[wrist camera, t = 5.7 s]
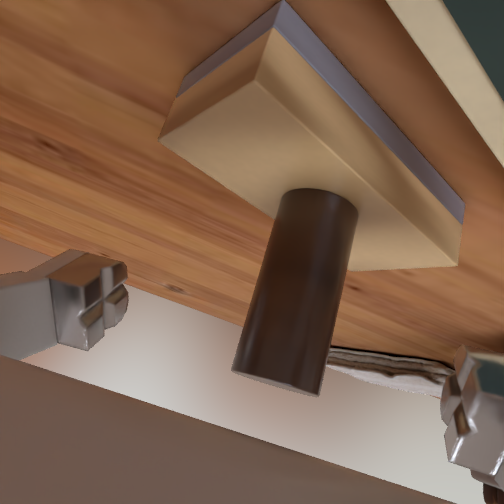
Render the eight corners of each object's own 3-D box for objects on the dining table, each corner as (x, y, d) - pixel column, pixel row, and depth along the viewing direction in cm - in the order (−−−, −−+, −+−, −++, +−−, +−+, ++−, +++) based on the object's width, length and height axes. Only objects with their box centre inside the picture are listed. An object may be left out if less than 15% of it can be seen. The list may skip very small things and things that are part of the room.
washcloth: (486, 385, 51) (484, 411, 50) (362, 365, 65) (358, 385, 64) (445, 359, 44) (442, 388, 43) (316, 343, 58) (311, 365, 57)
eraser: (184, 76, 14) (78, 322, 11) (283, -3, 11) (162, 336, 8) (362, 220, 21) (322, 405, 18) (465, 203, 17) (437, 436, 14)
